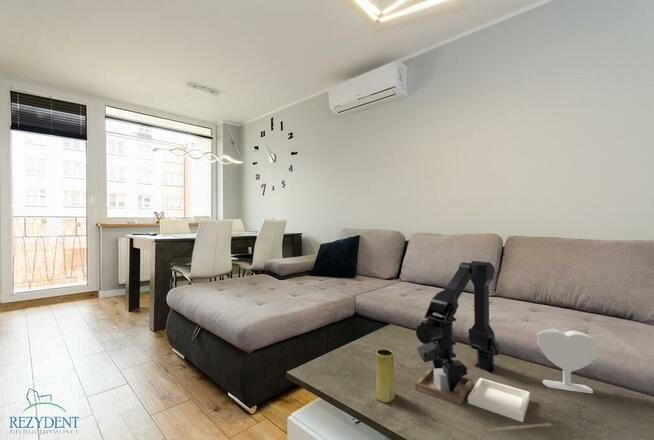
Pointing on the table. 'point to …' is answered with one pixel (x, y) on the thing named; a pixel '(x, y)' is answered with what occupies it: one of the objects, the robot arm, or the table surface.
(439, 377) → the stone block
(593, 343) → the heart sculpture
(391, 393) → the vase
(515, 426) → the table surface
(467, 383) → the walnut tray
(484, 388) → the cream tray
